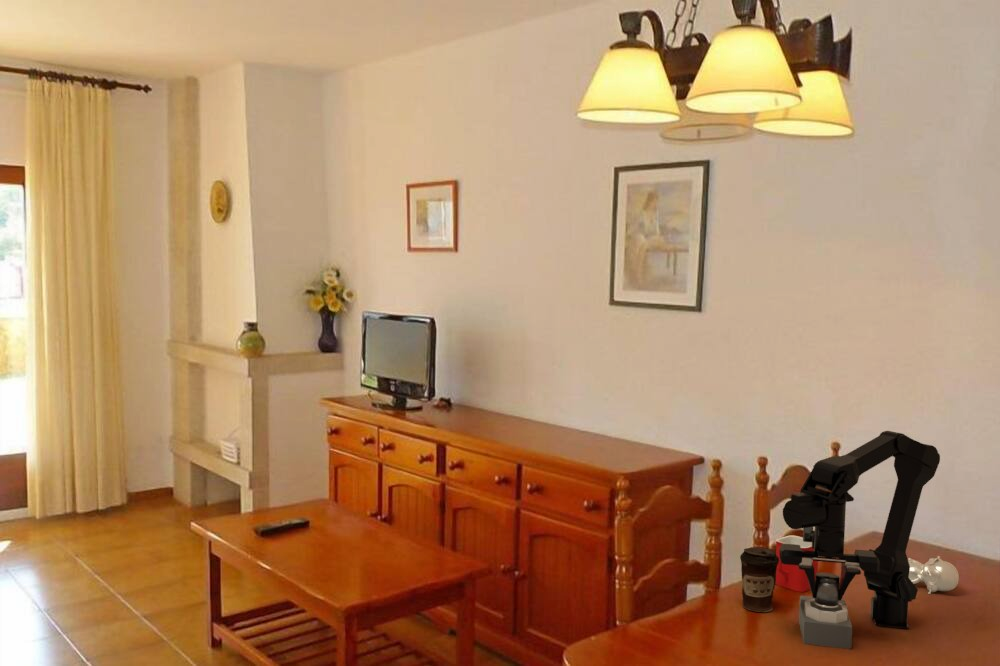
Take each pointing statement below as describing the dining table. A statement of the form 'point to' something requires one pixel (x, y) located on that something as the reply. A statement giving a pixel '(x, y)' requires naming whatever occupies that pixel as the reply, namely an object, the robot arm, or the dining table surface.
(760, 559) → the coffee cup
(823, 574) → the lens
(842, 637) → the camera body
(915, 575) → the figurine
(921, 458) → the robot arm
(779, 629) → the dining table surface
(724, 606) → the dining table surface
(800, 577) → the mug
